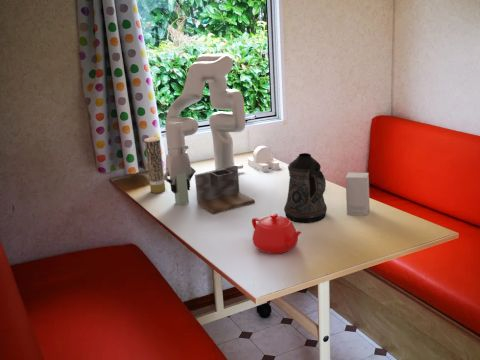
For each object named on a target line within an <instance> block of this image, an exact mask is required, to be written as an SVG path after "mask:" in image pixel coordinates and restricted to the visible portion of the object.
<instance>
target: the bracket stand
mask: <svg viewBox="0 0 480 360" xmlns="http://www.w3.org/2000/svg"><path fill="white" fill-rule="evenodd" d="M234 165H235V166H231V167H226V168H222V169H218V170H215V169H214V170H210V171H206V172H202V173H201V172H200V173H196V174H194V180H195V181H194V182H195V189H196V190H195V191H196V201H197V202H196V203H197V206H198V207H201V208H202V209H204V210H206V211H207V212H209V213H210V214H213V215H216V214H218V213H222V212H225V211H230V210H234V209H236V208H240V207H244V206H247V205H252V204H255V203H256V202H255V200H256V199H255V198H252V197H250V196H249V195H246V194H244V193H242V192H240V182H239V169H238V166H236V165H237V164H234Z"/></svg>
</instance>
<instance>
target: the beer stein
mask: <svg viewBox="0 0 480 360" xmlns="http://www.w3.org/2000/svg"><path fill="white" fill-rule="evenodd" d="M287 169H288V173H289V172H290V176H289V182H288V190H287V191H288V192H287V199H286V203H285V205H284V209H283V211H284V214H285V217H286V218H288V219H290V221H291V222H292V223H297V224H312V223H314V224H315V223H318V222H320V221H323V220H325V218H326V215H327V210H328V209H327V208H328V207H327V204H326V202H325V198H324V193H325V190H326V185H327V183H326V181H327V180H326V178H325V175H324V173H323V171H321V164H320V163H319V162H318V161H317V160H316V159H315V158H314V157H313V156H312V154H311V153H307V152H304V153H303V152H302V153H299V154H298V156H297V157H296V158H295V159H294V160H293V161H291V162H290V163H289V164H288V166H287Z"/></svg>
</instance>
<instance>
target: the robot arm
mask: <svg viewBox="0 0 480 360" xmlns="http://www.w3.org/2000/svg"><path fill="white" fill-rule="evenodd" d="M233 66H234V61H233V58H232V57H231V55H229V54H226V53H218V54H217V53H213V54H211V53H210V54H209V53H206V54H200V55H198V56H197V57H196V60H195V62H193V63H192V64H190V65H189V68H188V72H187V75H186V77H185V78H186V79H185V83H184V87H183V91H182V92H181V94H180V95H179V96H178V97H177V98H176V99H175V100H174V101H173V102H172V103H171V105H170V106H169V108H168V110H167V113H166V118H165V123H164V124H165V125H164V129H165V137H166V138H165V139H166V147H167V154H166V155H165V173H164V176H163V177H162V178H163V179H164V181H166V182H167V183H169V184H170V190H171V192H172V193H173V194H175V193H177V192H176V185H175V178H176V177H177V174H182V173H185V172H186V178H187V188H188V191H190V190H191V189H190V188H191V179H192V178H193V176H195V173H196V170H195V169H194V168H193V167H192V166H191V161H190V157H189V153H188V152H187V149H188V150H189V146H188V145H186V139H185V137H187V136H192V135H195V134H196V133H197V132H198V130H199V122H198V120H197V119H196V118H193V117H188V116H187V117H185V116H180V114H181V113H182V111H184V110H185V108H187V107H190V106H191V105H194V104H196V103H198V102H199V101H201V100H202V98H203V93H204V89H205V85H206V83H208V88H209V89H208V91H209V100H210V105H211V107H212V108H213V109H215V110H223V111H216V112H214V113H212V114H210V116H209V122H208V123H209V127H210V131H211V136H212V142H213V143H212V144H213V145H212V146H213V147H212V148H213V157H214V170H218V169H222V168H226V167H231V166H235V165H236V166H238V170H241V169H244V165H243V164H235V157H234V156H235V155H234V154H235V153H234V142H233V137H232V135H231V134H230V133H241V132H243V131H244V130H245V127H246V112H245V101H244V96H243V93H242V91H240V90H238V89H229V88H228V84H227V83H228V82H227V78H226V76H227V75H229V73H231V71H232V69H233ZM168 177H169V178H168Z"/></svg>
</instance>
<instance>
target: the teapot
mask: <svg viewBox="0 0 480 360" xmlns="http://www.w3.org/2000/svg"><path fill="white" fill-rule="evenodd" d="M251 224H252V227H253V234H252V242H253V246H254V247H255V248H257V249H258V250H259V251H261V252H263V253H267V254H271V255H272V254H273V255H276V254H283V253H285V252H288V251H290V250H292V249H293V248H294V247H296V245H298V241H299V236H300V235H301V234H303V232H302V231H300V230H296V228H295V227H294V225H293V222H292V221H290V219H288V218H286V216H279V215H278V213H270V214H269V216H266V217H263V218H260V217H253V218H252V219H251Z"/></svg>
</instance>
